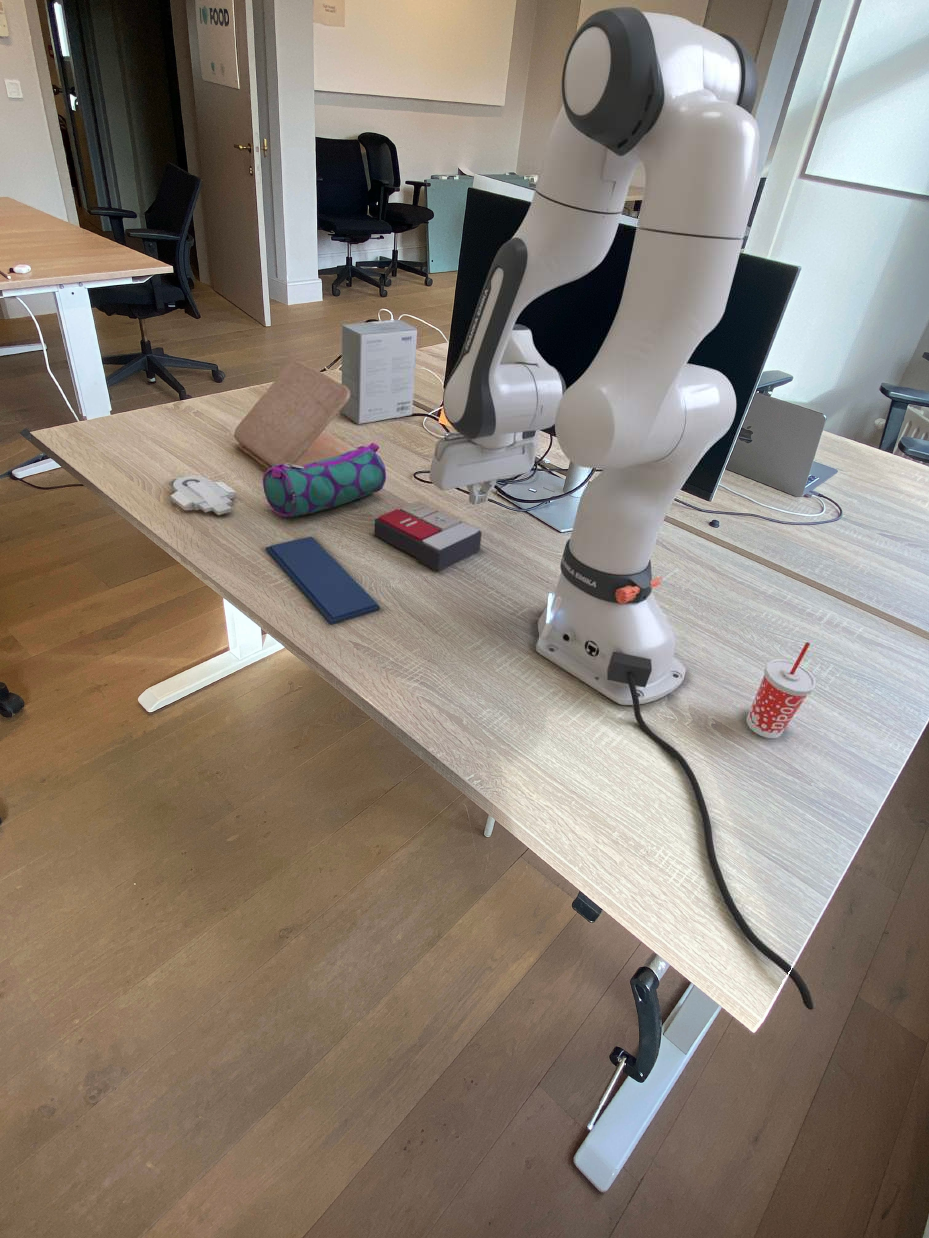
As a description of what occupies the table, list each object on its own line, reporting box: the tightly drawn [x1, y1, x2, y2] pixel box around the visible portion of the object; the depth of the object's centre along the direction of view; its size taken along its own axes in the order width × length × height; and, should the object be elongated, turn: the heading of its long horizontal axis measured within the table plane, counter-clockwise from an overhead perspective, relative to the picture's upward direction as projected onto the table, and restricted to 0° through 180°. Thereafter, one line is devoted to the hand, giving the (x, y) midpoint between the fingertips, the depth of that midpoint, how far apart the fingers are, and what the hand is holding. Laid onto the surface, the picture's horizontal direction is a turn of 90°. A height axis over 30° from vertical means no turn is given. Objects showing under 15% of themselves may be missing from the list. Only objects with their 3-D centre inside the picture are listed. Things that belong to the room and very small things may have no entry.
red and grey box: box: [373, 500, 482, 572], centre depth 118 cm, size 11×4×15 cm
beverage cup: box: [746, 641, 817, 739], centre depth 88 cm, size 6×6×14 cm
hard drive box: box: [341, 319, 419, 425], centre depth 157 cm, size 16×8×20 cm, turn 130°
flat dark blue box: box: [265, 536, 381, 625], centre depth 106 cm, size 22×8×1 cm, turn 36°
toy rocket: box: [170, 475, 237, 516], centre depth 121 cm, size 16×10×2 cm, turn 47°
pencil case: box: [262, 442, 387, 518], centre depth 123 cm, size 21×9×10 cm, turn 135°
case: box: [233, 360, 358, 470], centre depth 135 cm, size 20×21×16 cm
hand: (477, 502), depth 121 cm, fingers closed
